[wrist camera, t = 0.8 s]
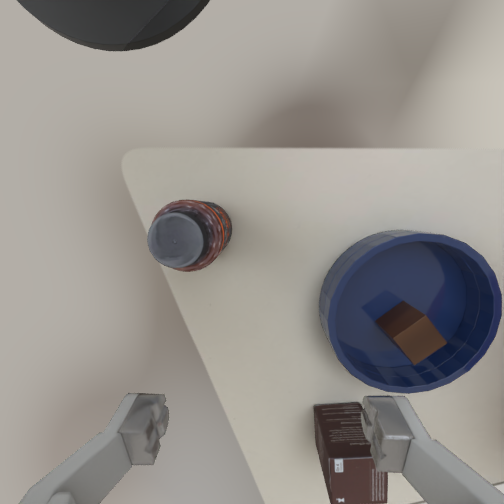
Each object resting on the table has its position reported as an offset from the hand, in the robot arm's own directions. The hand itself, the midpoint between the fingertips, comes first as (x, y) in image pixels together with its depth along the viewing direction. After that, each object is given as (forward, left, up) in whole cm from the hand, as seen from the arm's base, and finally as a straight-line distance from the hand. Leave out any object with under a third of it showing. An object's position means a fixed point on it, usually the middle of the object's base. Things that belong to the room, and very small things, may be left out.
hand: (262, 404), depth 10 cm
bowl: (+13, +10, -20) cm, 25 cm away
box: (+22, -5, -20) cm, 30 cm away
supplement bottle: (-8, -1, -20) cm, 21 cm away
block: (+15, +9, -19) cm, 26 cm away
